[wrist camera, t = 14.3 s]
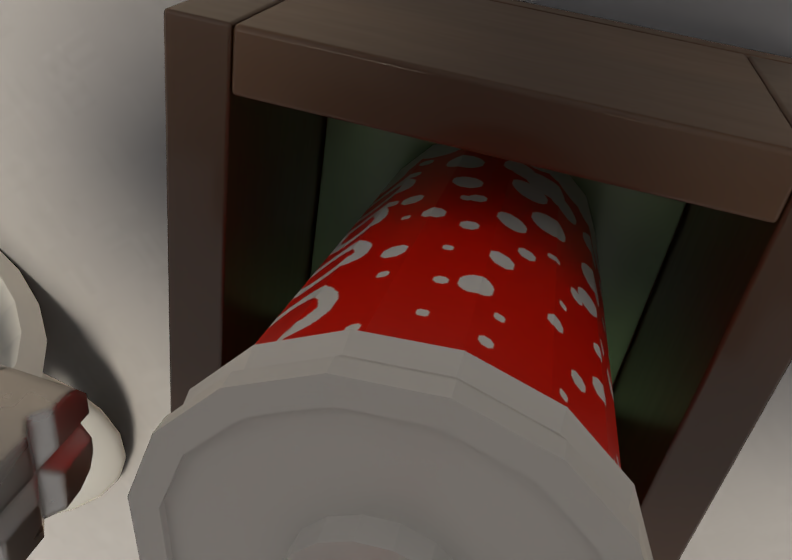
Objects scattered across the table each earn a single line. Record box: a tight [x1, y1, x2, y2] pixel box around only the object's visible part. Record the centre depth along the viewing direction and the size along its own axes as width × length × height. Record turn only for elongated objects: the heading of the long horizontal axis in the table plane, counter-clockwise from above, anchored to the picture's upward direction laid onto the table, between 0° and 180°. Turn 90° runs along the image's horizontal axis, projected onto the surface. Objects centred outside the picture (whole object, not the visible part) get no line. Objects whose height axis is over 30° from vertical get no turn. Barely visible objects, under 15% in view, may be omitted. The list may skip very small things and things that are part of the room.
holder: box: [164, 0, 792, 560], centre depth 17 cm, size 10×18×6 cm, turn 171°
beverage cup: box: [128, 144, 653, 560], centre depth 10 cm, size 6×6×14 cm
